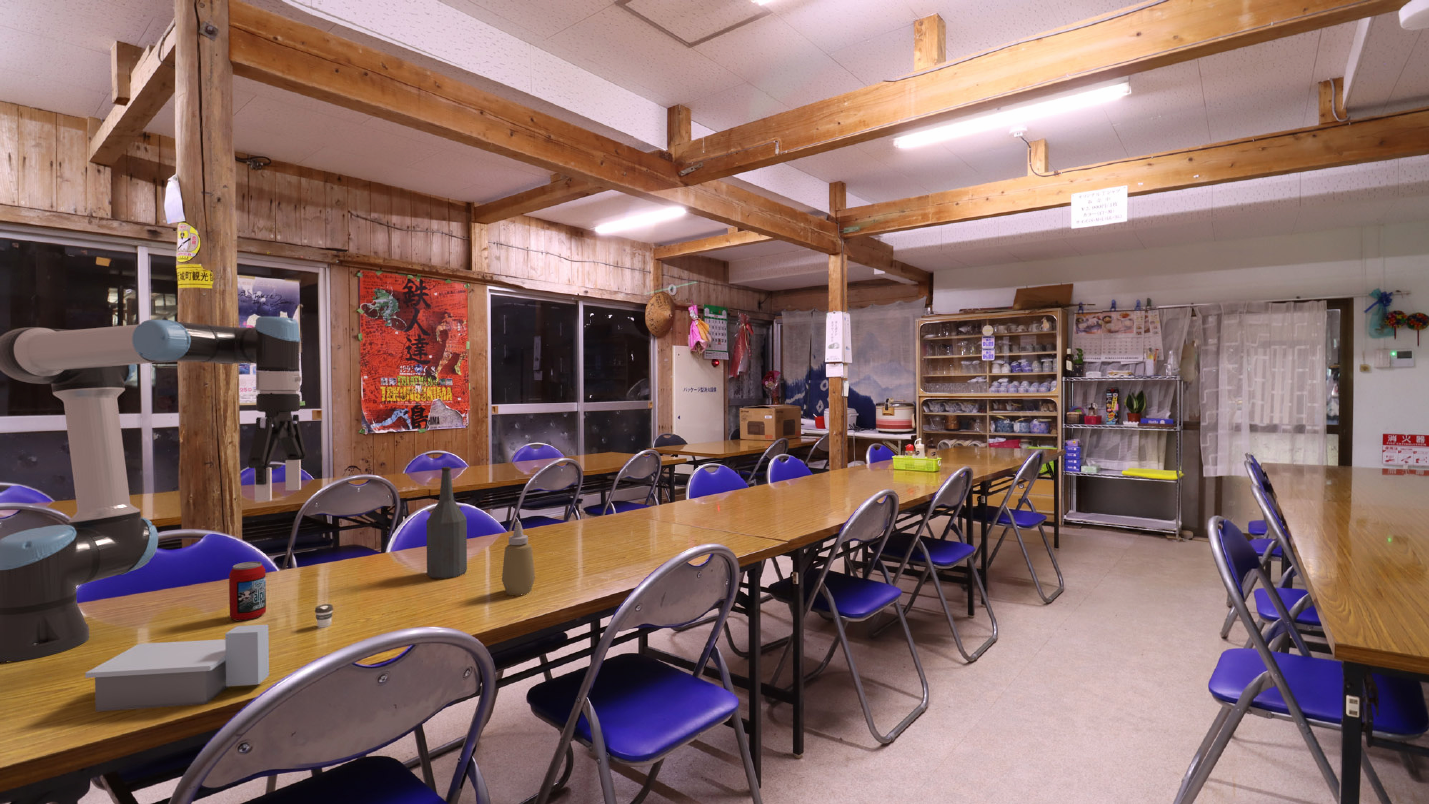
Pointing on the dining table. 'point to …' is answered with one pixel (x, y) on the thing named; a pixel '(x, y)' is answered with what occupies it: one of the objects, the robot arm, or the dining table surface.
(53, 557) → the robot arm
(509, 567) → the squeeze bottle
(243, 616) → the beverage can
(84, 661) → the dining table surface
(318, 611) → the coffee cup
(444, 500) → the bottle
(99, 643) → the dining table surface
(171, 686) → the tub
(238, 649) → the lid
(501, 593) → the dining table surface
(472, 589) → the dining table surface
